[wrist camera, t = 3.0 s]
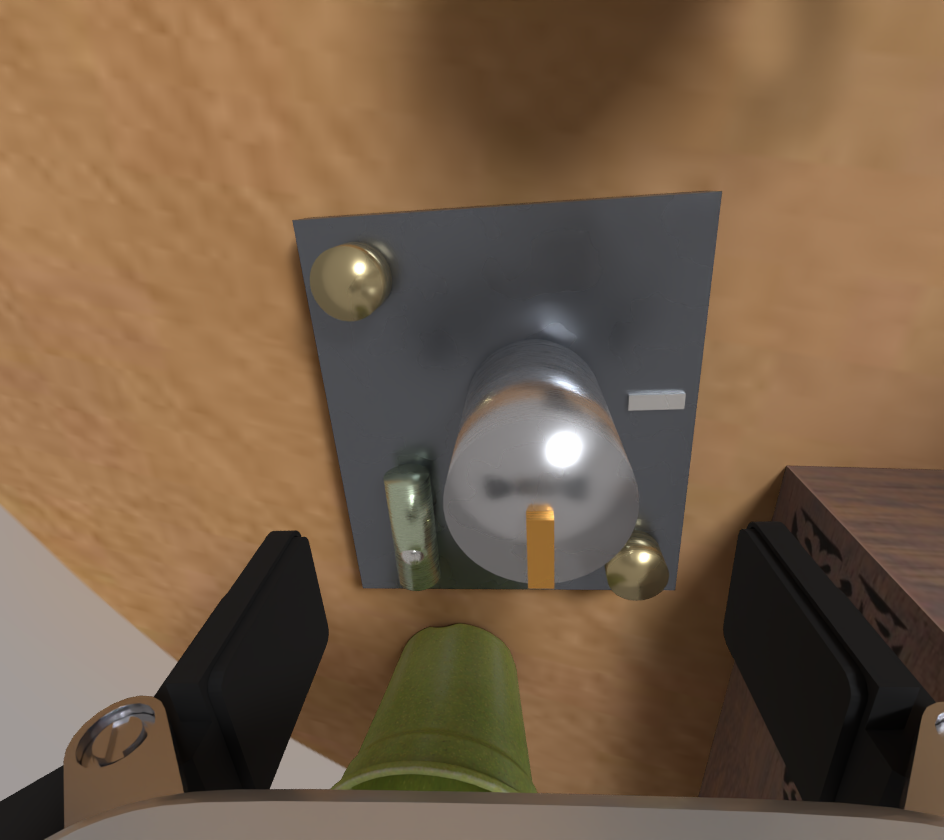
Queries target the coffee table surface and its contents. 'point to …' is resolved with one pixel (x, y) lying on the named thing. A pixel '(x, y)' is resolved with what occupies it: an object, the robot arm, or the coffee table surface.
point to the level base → (492, 327)
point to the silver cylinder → (539, 469)
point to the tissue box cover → (866, 585)
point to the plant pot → (447, 720)
